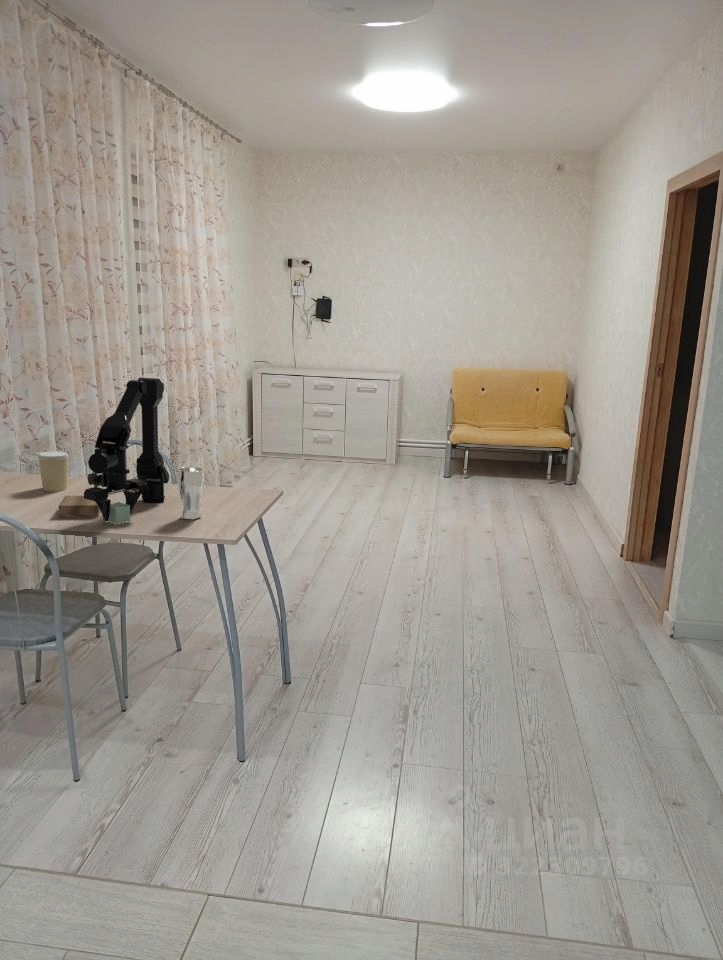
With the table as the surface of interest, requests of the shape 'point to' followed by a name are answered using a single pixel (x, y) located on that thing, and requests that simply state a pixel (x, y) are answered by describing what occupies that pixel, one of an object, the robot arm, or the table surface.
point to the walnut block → (78, 507)
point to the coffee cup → (54, 470)
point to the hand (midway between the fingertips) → (117, 518)
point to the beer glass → (190, 491)
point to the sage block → (119, 513)
